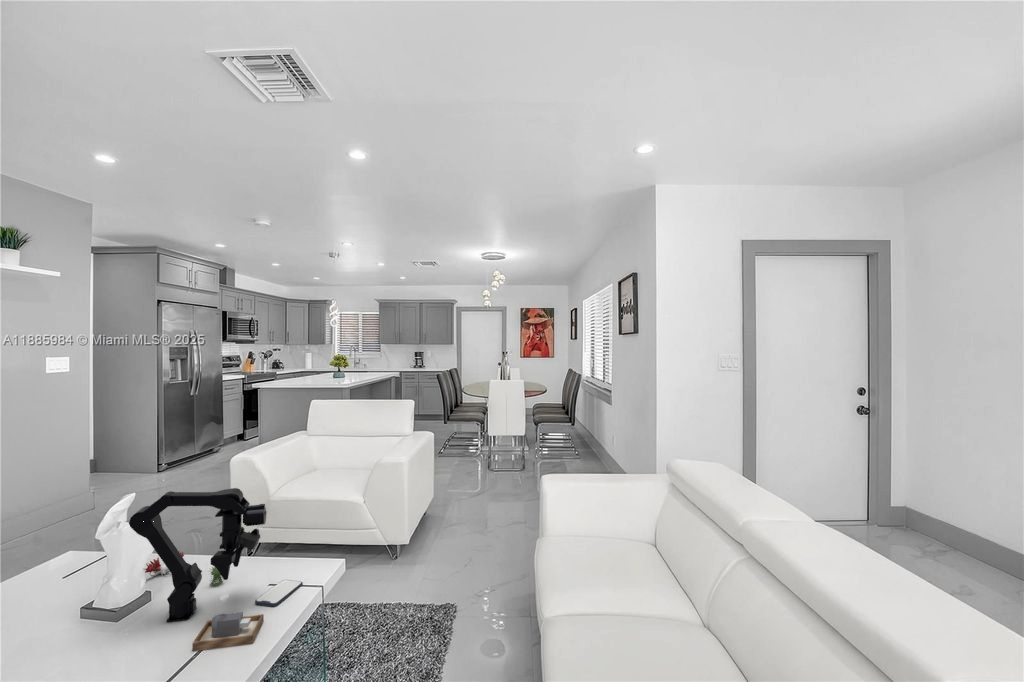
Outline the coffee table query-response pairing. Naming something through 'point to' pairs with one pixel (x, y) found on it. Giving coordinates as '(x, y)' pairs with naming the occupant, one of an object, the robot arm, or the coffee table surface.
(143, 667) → the coffee table surface
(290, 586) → the phone case
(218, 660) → the coffee table surface
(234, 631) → the plug
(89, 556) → the coffee table surface
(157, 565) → the figurine
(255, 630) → the tray
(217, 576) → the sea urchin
